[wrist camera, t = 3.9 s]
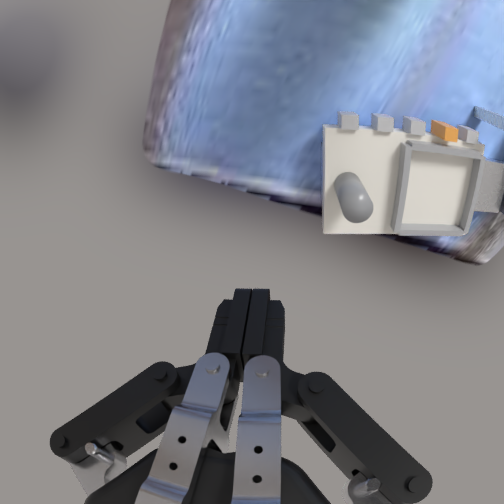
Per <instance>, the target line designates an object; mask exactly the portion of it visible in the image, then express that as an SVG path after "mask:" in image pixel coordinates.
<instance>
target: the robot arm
mask: <svg viewBox="0 0 504 504" xmlns="http://www.w3.org/2000/svg"><path fill="white" fill-rule="evenodd" d="M284 334H285V311H284V307H283V305H282V303H281V301H280V300H270V290H269V289H253V291H252V289H235V292H234V297H233V300H225V299H224V300H223V302H222V303H221V304H220V305H219V307H218V309H217V312H216V316H215V320H214V324H213V327H212V331H211V334H210V338H209V342H208V346H207V350H206V353H205V355H203V356H202V357H201V358H200V359H199V360H198V361H197V363H195V364H193V365H189V366H184V367H178V368H175V367H174V366H173V365H172V364H171V363H168V362H157V363H155V364H153V365H151V366H150V367H148V368H147V369H146V370H144V371H143V372H141V373H140V374H138V375H137V376H136V377H134V378H133V379H131V380H130V381H128V382H127V383H125V384H124V385H123V386H121V387H120V388H118V389H117V390H115V391H114V392H112V393H111V394H109V395H108V396H107V397H105V398H104V399H102V400H101V401H99V402H98V403H96V404H95V405H93V406H92V407H90V408H89V409H87V410H86V411H84V412H83V413H81V414H80V415H78V416H77V417H75V418H74V419H72V420H71V421H69V422H68V423H66V424H64V425H63V426H62V427H60V428H58V429H57V430H55V431H54V432H53V434H52V435H51V438H50V447H51V450H52V451H53V452H54V454H55V455H57V456H59V457H61V458H62V459H64V460H66V461H67V462H68V463H69V464H70V465H71V467H72V469H73V471H74V473H75V475H76V477H77V478H78V480H79V482H80V484H81V485H82V487H83V489H84V490H85V492H86V494H87V495H88V498H87V499H86V500H85V503H84V504H331V503H330V502H329V501H328V500H327V498H326V497H325V496H324V495H323V494H322V492H321V491H320V490H319V489H318V488H317V486H316V485H315V484H314V483H313V482H312V480H311V479H310V478H309V477H308V475H307V474H306V473H305V472H304V471H303V470H302V469H301V468H300V467H299V466H298V465H296V464H295V463H293V462H291V461H290V460H288V459H285V458H283V457H281V415H284V416H287V417H290V418H293V419H296V420H297V422H298V423H299V424H300V425H301V427H302V428H303V429H304V430H305V431H306V432H307V434H308V435H309V436H310V437H311V438H312V439H313V440H314V442H315V443H316V444H317V445H318V446H319V447H320V448H321V449H322V451H323V452H324V453H325V454H326V455H327V456H328V457H329V458H330V459H331V460H332V461H333V463H334V464H335V465H336V466H337V467H338V468H339V469H340V470H341V471H342V472H343V473H344V474H345V475H346V477H347V478H349V481H347V482H346V484H345V485H344V487H343V489H342V497H343V499H344V501H345V502H346V504H413V503H417V502H419V501H421V500H423V499H424V498H425V497H426V496H427V495H428V494H429V492H430V490H431V488H432V477H431V475H430V473H429V472H428V471H427V470H426V469H425V468H424V467H423V466H422V465H421V464H420V463H418V462H417V461H416V460H415V459H414V458H413V457H412V456H411V455H410V454H408V453H407V451H405V449H403V448H402V447H401V446H400V445H399V444H398V443H397V442H396V441H395V440H394V439H393V438H392V437H391V436H390V435H389V434H388V433H387V432H386V431H385V430H384V429H382V428H381V427H380V426H379V425H378V424H377V423H376V422H375V421H374V420H373V419H372V418H371V417H370V416H369V415H368V414H367V413H366V412H365V411H364V410H363V409H362V408H361V407H360V406H359V405H358V404H357V403H356V402H355V401H354V400H353V399H352V398H351V397H350V396H349V395H348V394H347V393H346V392H345V391H344V390H343V389H342V388H341V387H340V386H339V385H338V384H337V383H336V382H335V381H333V379H332V378H331V377H330V376H328V375H327V374H325V373H322V372H311V373H308V374H306V375H304V374H300V373H297V372H294V371H292V370H290V369H289V368H287V366H286V365H285V364H284V362H283V354H284ZM240 382H243V395H242V409H241V415H240V416H239V420H238V429H237V442H236V452H232V453H227V451H228V447H229V433H230V428H231V424H232V421H233V416H234V413H235V409H236V405H237V400H238V390H239V384H240ZM162 432H164V434H163V437H162V440H161V442H160V445H159V448H158V449H155V450H153V451H152V452H150V453H149V454H148V455H146V456H145V457H144V458H142V459H141V460H139V461H138V462H137V463H135V464H134V465H133V466H131V467H130V468H128V469H127V470H126V471H124V470H125V469H126V467H127V465H126V464H127V460H126V457H128V456H129V455H131V454H132V453H134V452H135V451H137V450H138V449H140V448H141V447H143V446H144V445H146V444H147V443H148V442H150V441H151V440H153V439H154V438H155V437H157V436H158V435H160V434H161V433H162ZM123 471H124V472H123ZM121 472H123V473H121ZM120 473H121V474H120ZM119 474H120V475H119Z"/></svg>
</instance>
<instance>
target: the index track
mask: <svg viewBox="0 0 504 504" xmlns="http://www.w3.org/2000/svg"><path fill="white" fill-rule="evenodd" d="M474 117H476V118H478V119H480V120H482V121H485V122H487V123H489V124H491V125H493V126H496V127H498V128H500V129H502V130H504V116H502V115H499V114H497V113H494V112H492V111H489V110H487V109H484V108H481V107H477V106H475V112H474ZM322 201H323V142H321V203H322ZM499 210H500V211H501V212H502V213H503V214H504V161H500V160H495V159H490V158H486V159H485V165H484V170H483V175H482V180H481V185H480V190H479V194H478V198H477V202H476V206H475V210H474V211H481V212H494V213H498V212H499Z"/></svg>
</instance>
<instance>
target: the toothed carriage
mask: <svg viewBox="0 0 504 504" xmlns="http://www.w3.org/2000/svg"><path fill="white" fill-rule="evenodd" d="M337 114H338V125H334V124H323V201H322V230H323V234H399V236H463V235H465V234H468V231H469V228H470V224H471V221H472V217H473V214H474V210H475V206H476V202H477V198H478V194H479V190H480V185H481V180H482V175H483V170H484V165H485V159H486V157H484V156H483V154H484V147H485V145H484V144H482V143H480V142H479V141H478V136H479V132H478V131H476V130H474V129H472V128H470V127H467V126H462V125H457V128H455V127H453V126H451V125H449V124H447V123H445V122H441V121H435V120H432V121H431V132H425V128H426V122H424V121H422V120H420V119H418V118H415V117H407V116H403V125H402V129H399V128H394V118H392V117H391V116H389V115H387V114H378V113H371V126H360V125H359V115H357V114H356V113H354V112H346V111H337Z"/></svg>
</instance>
